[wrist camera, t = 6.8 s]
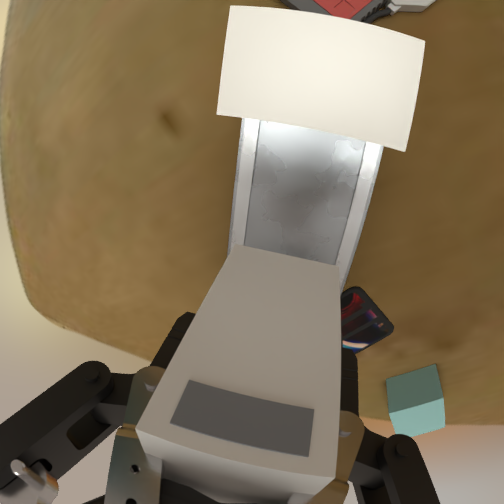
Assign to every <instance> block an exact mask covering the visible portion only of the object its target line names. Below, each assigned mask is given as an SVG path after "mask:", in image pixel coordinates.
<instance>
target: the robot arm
mask: <svg viewBox="0 0 504 504" xmlns="http://www.w3.org/2000/svg"><path fill="white" fill-rule="evenodd" d="M195 315H196V314H194V313H190V312H186V313H185V314H183V315H182V316H181V317H179V318H178V319H177V320H176V322H175V324H174V326H173V327H172V330H171V331H170V332H169V334H168V337H166V339H165V341H164V342H163V344H162V346H161V347H160V349H159V351H158V353H157V354H156V356H155V358H154V359H153V361H152V363H151V364H150V366H148V367H144V368H142V369H140V370H139V371H138V372H137V373H135V374H120V373H111V372H110V370H109V368H108V367H107V366H106V365H105V364H104V363H102V362H99V361H88V362H85V363H83V364H81V365H80V366H78V367H77V368H76V369H74V370H73V371H72V372H70V373H69V374H67V375H66V376H65V377H63V378H62V379H61V380H59V381H58V382H57V383H55V384H54V385H53V386H51V387H50V388H48V389H47V390H46V391H45V392H43V393H42V394H41V395H39V396H38V397H36V398H35V399H34V400H32V401H31V402H30V403H28V404H27V405H26V406H24V407H23V408H22V409H21V410H19V411H18V412H16V413H15V414H14V415H12V416H11V417H10V418H8V419H7V420H6V421H4V422H3V423H2V424H0V503H1V504H51V503H52V502H53V500H54V499H55V498H56V496H57V494H58V491H59V486H58V482H57V480H58V479H59V478H60V477H61V476H63V475H64V474H65V473H66V472H67V471H69V470H70V469H71V468H72V467H73V466H74V465H76V464H77V463H78V462H79V461H80V460H81V459H82V458H84V457H85V456H86V455H87V454H88V453H90V452H91V451H92V450H93V449H94V448H95V447H96V446H98V444H100V443H101V442H102V441H103V440H104V439H105V438H107V437H108V436H109V435H110V434H111V433H112V432H113V431H115V429H117V428H118V427H119V426H122V427H121V428H118V430H117V432H116V436H115V440H114V446H113V451H112V456H111V462H110V469H109V474H108V481H107V487H106V494H105V495H103V496H100V497H98V498H96V499H93V500H91V501H88V502H86V503H83V504H256V503H220V502H217V501H215V500H213V499H211V498H210V497H208V496H206V495H204V494H202V493H200V492H199V491H197V490H195V489H193V488H191V487H189V486H186V485H183V484H180V483H177V482H174V481H171V480H168V479H165V478H164V471H165V466H164V463H163V460H162V459H160V458H158V457H155V456H152V455H150V454H147V453H145V452H144V450H143V447H142V445H141V442H140V440H139V437H138V435H137V432H136V430H135V428H136V426H137V424H138V422H139V420H140V418H141V416H142V414H143V412H144V411H145V409H146V407H147V405H148V403H149V401H150V399H151V397H152V395H153V393H154V392H155V390H156V388H157V386H158V384H159V382H160V380H161V378H162V376H163V375H164V373H165V371H166V369H167V367H168V365H169V363H170V361H171V360H172V358H173V356H174V354H175V352H176V350H177V348H178V347H179V345H180V343H181V341H182V339H183V337H184V335H185V334H186V332H187V330H188V328H189V326H190V324H191V323H192V321H193V319H194V317H195ZM357 371H358V365H357V358H356V356H355V354H354V352H353V350H352V349H349V348H343V336H342V334H341V390H340V417H339V435H338V450H337V463H336V474H335V478H334V479H333V480H332V481H331V482H330V483H329V484H328V485H327V486H325V487H324V488H323V489H322V490H321V491H320V492H318V493H317V494H316V495H313V494H304V493H297V492H293V493H292V494H291V495H290V496H289V498H288V499H287V501H286V503H285V504H343V502H344V500H345V498H346V496H347V493H348V490H349V484H348V483H347V481H348V480H349V481H351V482H352V483H353V486H354V489H355V493H356V496H357V500H358V504H440V502H439V499H438V496H437V494H436V491H435V488H434V486H433V483H432V480H431V478H430V475H429V473H428V470H427V468H426V465H425V463H424V460H423V458H422V456H421V453H420V451H419V448H418V446H417V444H416V442H415V441H414V440H413V439H412V438H411V437H409V436H407V435H405V434H395V435H392V436H390V437H389V438H386V437H383V436H381V435H378V434H376V433H374V432H371V431H370V430H368V429H367V428H366V427H365V426H364V424H363V422H362V420H361V419H360V418H359V412H358V372H357Z"/></svg>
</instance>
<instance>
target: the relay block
mask: <svg viewBox="0 0 504 504" xmlns="http://www.w3.org/2000/svg"><path fill="white" fill-rule="evenodd" d="M386 384H387V395H388V408H389V415H390V418H391V421H392V424H393V427H394V430H395V433H396V434H405V435H407V436H409V437H412V436H416V435H420V434H424V433H427V432H431V431H434V430H437V429H441V428H443V427H445V413H444V399H443V393H442V389H441V384H440V380H439V376H438V372H437V368H436V364H434V365H431V366H428V367H425V368H421V369H418V370H415V371H412V372H409V373H405V374H402V375H398V376H395V377H391V378H388V379H386Z"/></svg>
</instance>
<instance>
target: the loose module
mask: <svg viewBox="0 0 504 504" xmlns="http://www.w3.org/2000/svg"><path fill="white" fill-rule="evenodd" d="M340 390H341V307H340V279H339V266H335V265H330V264H326V263H321V262H317V261H312V260H307V259H303V258H298V257H294V256H289V255H284V254H280V253H275V252H271V251H266V250H261V249H257V248H252V247H248V246H243V245H238V244H235V245H234V246H233V248H232V250H231V252H230V254H229V255H228V257H227V259H226V261H225V263H224V264H223V266H222V268H221V270H220V272H219V273H218V275H217V277H216V279H215V281H214V282H213V284H212V286H211V288H210V290H209V291H208V293H207V295H206V297H205V299H204V301H203V302H202V304H201V306H200V308H199V310H198V312H197V313H196V315H195V317H194V319H193V321H192V323H191V324H190V326H189V328H188V330H187V332H186V334H185V335H184V337H183V339H182V341H181V343H180V345H179V347H178V348H177V350H176V352H175V354H174V356H173V358H172V360H171V361H170V363H169V365H168V367H167V369H166V371H165V373H164V375H163V376H162V378H161V380H160V382H159V384H158V386H157V388H156V390H155V392H154V393H153V395H152V397H151V399H150V401H149V403H148V405H147V407H146V409H145V411H144V412H143V414H142V416H141V418H140V420H139V422H138V424H137V426H136V428H135V430H136V432H137V435H138V437H139V440H140V442H141V445H142V447H143V450H144V452H145V453H147V454H150V455H152V456H155V457H158V458H160V459H162V460H163V463H164V466H165V471H164V478H165V479H168V480H171V481H174V482H177V483H180V484H183V485H186V486H189V487H191V488H193V489H195V490H197V491H199V492H200V493H202V494H204V495H206V496H208V497H210V498H211V499H213V500H215V501H217V502H220V503H256V504H285V503H286V501H287V499H288V498H289V496H290V495H291V494H292V493H293V492H297V493H304V494H313V495H316V494H317V493H318V492H320V491H321V490H322V489H323V488H324V487H325V486H327V485H328V484H329V483H330V482H331V481H332V480H333V479H334V478H335V474H336V463H337V450H338V435H339V417H340Z"/></svg>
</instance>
